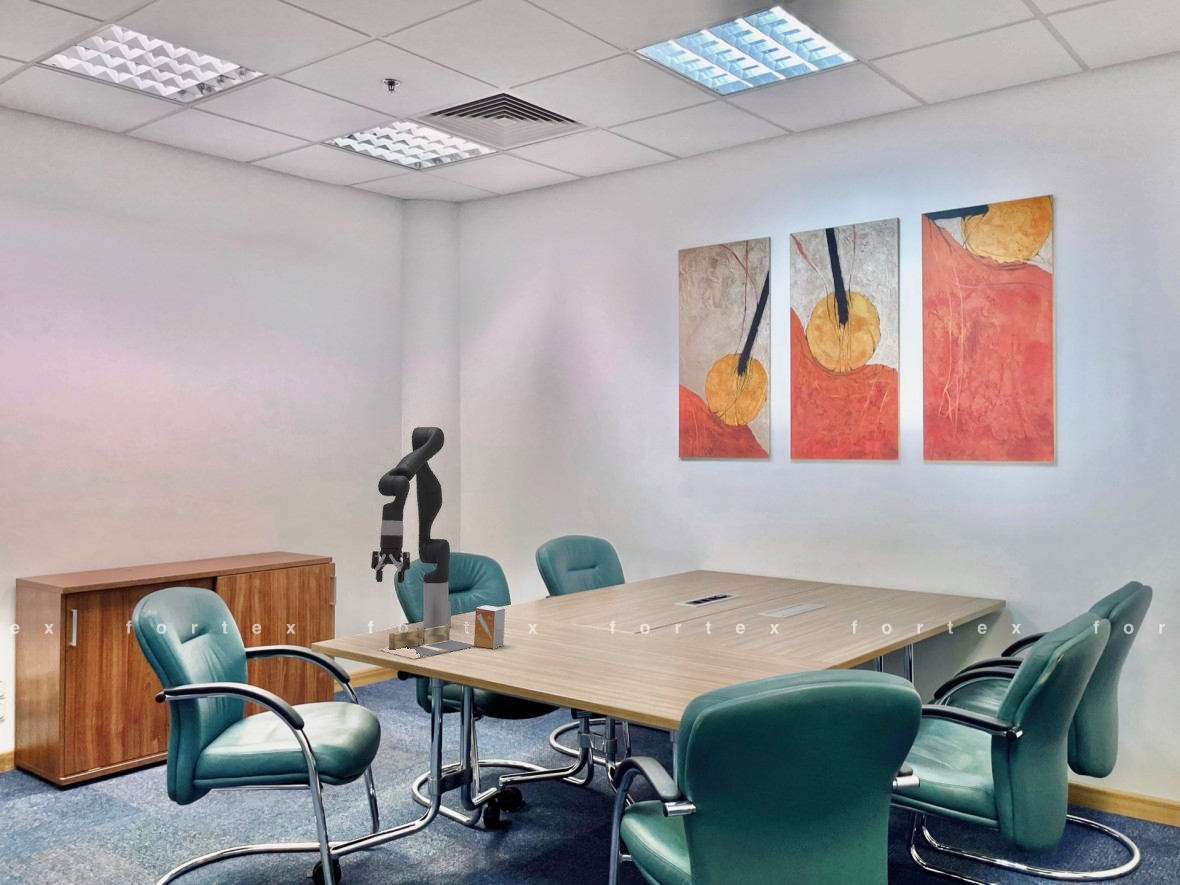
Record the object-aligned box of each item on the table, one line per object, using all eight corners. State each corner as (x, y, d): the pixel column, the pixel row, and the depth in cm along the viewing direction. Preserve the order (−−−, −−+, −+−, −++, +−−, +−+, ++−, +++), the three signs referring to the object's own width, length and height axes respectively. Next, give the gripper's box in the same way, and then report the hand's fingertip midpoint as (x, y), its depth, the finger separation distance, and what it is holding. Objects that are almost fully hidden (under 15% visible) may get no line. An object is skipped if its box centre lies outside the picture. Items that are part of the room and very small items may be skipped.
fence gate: (415, 644, 330) (415, 629, 330) (418, 645, 329) (418, 630, 329) (388, 649, 322) (388, 634, 322) (391, 650, 321) (391, 634, 321)
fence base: (447, 639, 340) (447, 623, 340) (450, 640, 338) (450, 623, 338) (415, 645, 330) (415, 628, 330) (419, 646, 329) (419, 629, 329)
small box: (473, 645, 329) (475, 607, 329) (484, 642, 335) (486, 604, 334) (493, 649, 325) (494, 610, 325) (504, 645, 331) (505, 607, 330)
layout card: (439, 638, 344) (439, 636, 344) (477, 646, 329) (477, 645, 329) (376, 650, 325) (376, 648, 325) (413, 659, 311) (413, 657, 311)
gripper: (415, 534, 331) (413, 583, 329) (381, 534, 337) (379, 581, 335) (402, 534, 324) (400, 583, 322) (368, 533, 330) (365, 582, 328)
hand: (389, 582), depth 329 cm, fingers open, 8 cm apart
